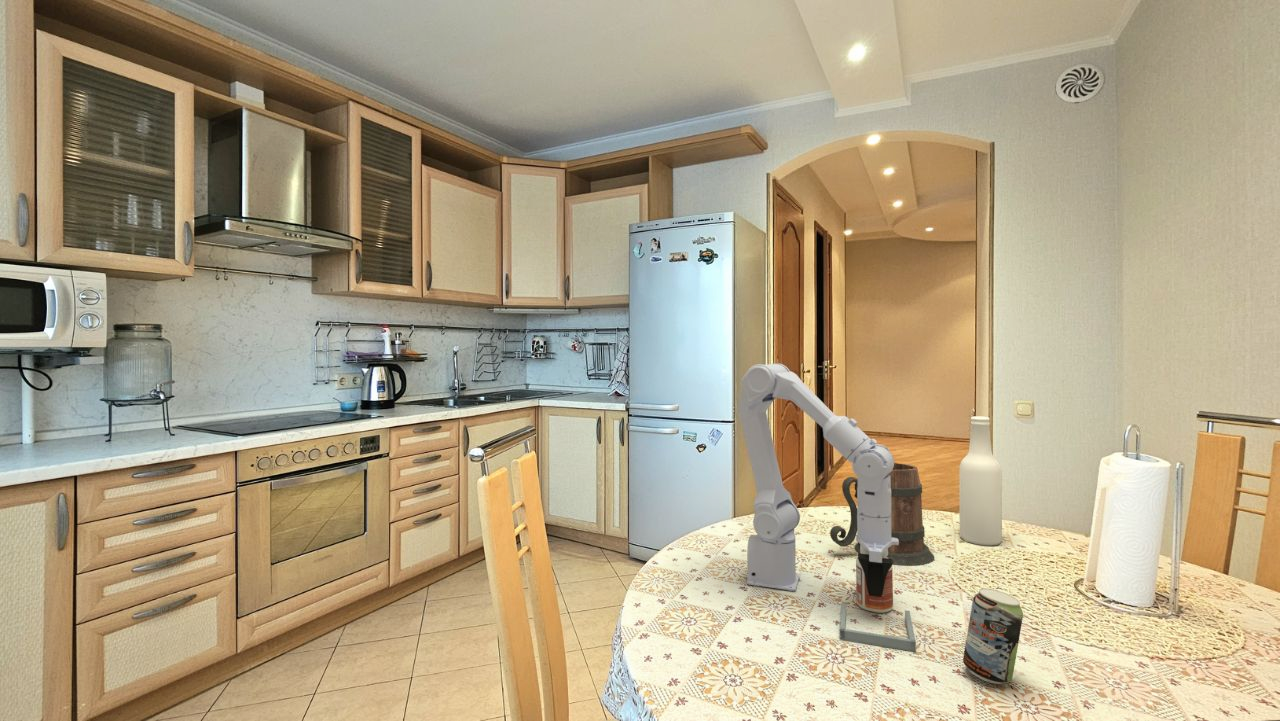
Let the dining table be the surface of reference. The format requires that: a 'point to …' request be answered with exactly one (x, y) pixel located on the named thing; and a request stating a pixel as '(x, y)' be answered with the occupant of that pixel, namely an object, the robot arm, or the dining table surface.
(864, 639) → the bracket
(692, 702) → the dining table surface
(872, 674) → the dining table surface
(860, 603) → the pill bottle
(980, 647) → the beverage can
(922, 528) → the tankard
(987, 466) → the alcohol
